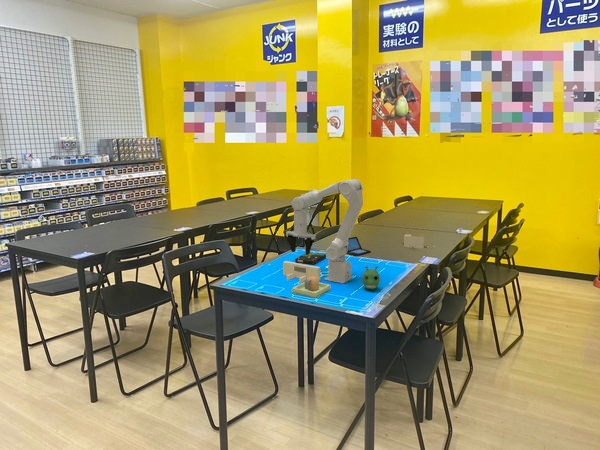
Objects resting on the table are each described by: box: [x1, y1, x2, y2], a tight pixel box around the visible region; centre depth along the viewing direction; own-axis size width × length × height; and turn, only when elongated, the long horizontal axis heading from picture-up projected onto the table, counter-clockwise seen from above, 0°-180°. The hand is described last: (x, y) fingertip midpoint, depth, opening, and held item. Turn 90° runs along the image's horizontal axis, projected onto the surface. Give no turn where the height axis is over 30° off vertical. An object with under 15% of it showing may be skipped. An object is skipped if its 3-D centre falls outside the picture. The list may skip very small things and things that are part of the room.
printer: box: [282, 260, 321, 284], centre depth 195 cm, size 18×7×6 cm, turn 57°
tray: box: [291, 281, 331, 299], centre depth 180 cm, size 11×12×2 cm
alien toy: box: [361, 265, 381, 290], centre depth 181 cm, size 7×8×10 cm
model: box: [403, 233, 425, 249], centre depth 251 cm, size 3×11×8 cm, turn 73°
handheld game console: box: [346, 236, 372, 257], centre depth 239 cm, size 12×11×7 cm
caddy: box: [304, 275, 320, 291], centre depth 180 cm, size 5×7×5 cm, turn 147°
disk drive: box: [294, 251, 327, 266], centre depth 225 cm, size 10×3×15 cm
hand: (300, 253), depth 202 cm, fingers open, 7 cm apart
